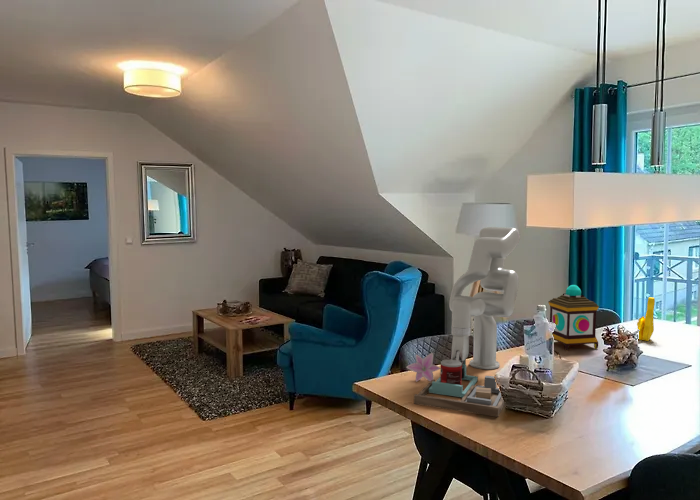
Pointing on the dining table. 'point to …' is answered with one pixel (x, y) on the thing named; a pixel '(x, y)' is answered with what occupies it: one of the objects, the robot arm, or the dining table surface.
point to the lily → (424, 367)
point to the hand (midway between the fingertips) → (460, 376)
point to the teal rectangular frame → (453, 386)
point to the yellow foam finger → (647, 321)
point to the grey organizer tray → (487, 384)
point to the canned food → (451, 372)
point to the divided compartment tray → (457, 403)
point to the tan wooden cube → (483, 393)
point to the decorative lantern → (574, 318)
